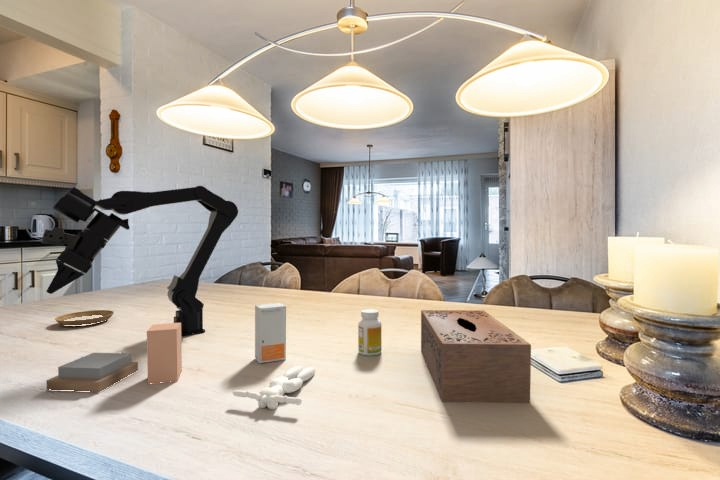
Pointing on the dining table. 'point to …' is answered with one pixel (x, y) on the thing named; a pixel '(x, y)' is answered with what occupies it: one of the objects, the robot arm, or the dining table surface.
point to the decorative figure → (280, 388)
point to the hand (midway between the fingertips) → (50, 290)
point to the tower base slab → (91, 380)
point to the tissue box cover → (475, 357)
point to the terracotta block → (164, 352)
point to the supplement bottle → (369, 333)
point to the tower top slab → (94, 366)
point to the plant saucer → (104, 313)
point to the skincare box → (270, 332)
